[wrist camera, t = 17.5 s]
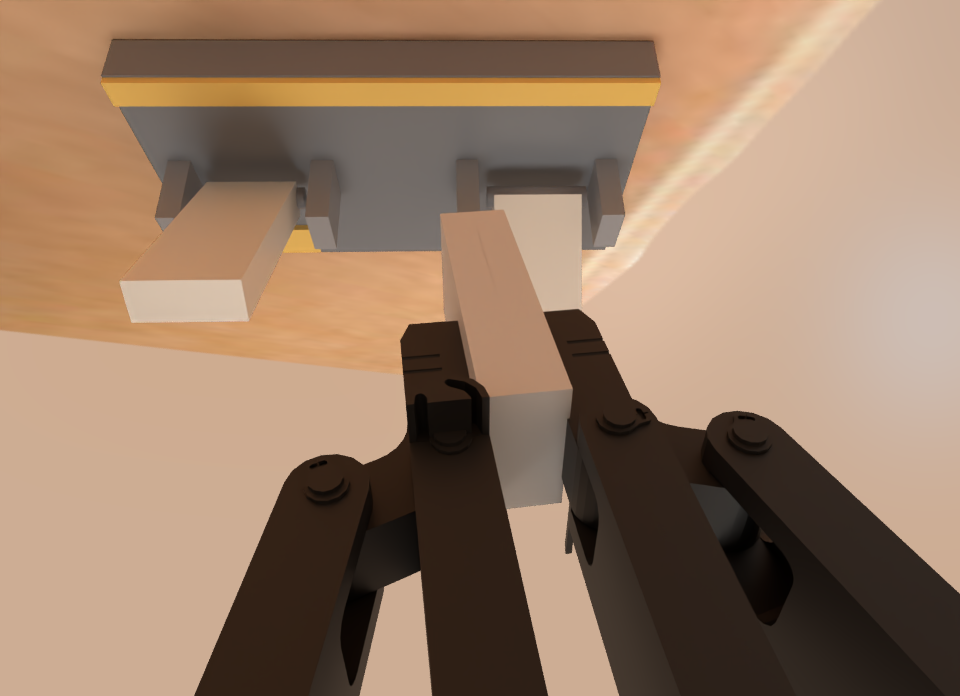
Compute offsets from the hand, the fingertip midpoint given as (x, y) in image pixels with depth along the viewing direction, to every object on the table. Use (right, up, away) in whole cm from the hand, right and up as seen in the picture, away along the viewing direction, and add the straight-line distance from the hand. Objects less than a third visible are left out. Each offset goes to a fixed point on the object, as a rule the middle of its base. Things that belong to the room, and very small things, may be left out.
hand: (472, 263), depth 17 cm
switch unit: (-4, +8, +17) cm, 19 cm away
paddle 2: (+3, +5, +16) cm, 17 cm away
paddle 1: (-10, +5, +15) cm, 19 cm away
